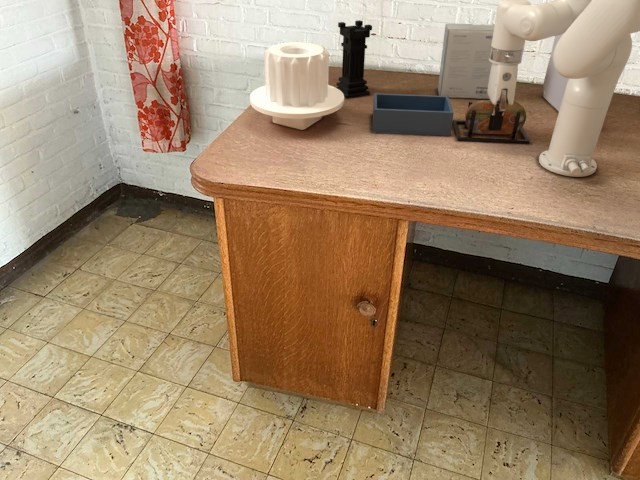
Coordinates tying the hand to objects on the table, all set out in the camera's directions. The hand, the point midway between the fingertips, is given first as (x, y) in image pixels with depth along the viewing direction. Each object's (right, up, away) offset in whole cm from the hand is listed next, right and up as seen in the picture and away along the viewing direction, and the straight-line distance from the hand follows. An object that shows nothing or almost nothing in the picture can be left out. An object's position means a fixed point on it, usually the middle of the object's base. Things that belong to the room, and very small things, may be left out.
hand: (493, 126), depth 140 cm
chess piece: (-35, +16, +26) cm, 47 cm away
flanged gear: (-51, +3, +8) cm, 52 cm away
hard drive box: (-1, +15, +26) cm, 30 cm away
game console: (+26, +7, +15) cm, 31 cm away
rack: (-1, -1, +2) cm, 2 cm away
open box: (-21, +2, +5) cm, 21 cm away
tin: (0, -1, +1) cm, 2 cm away
